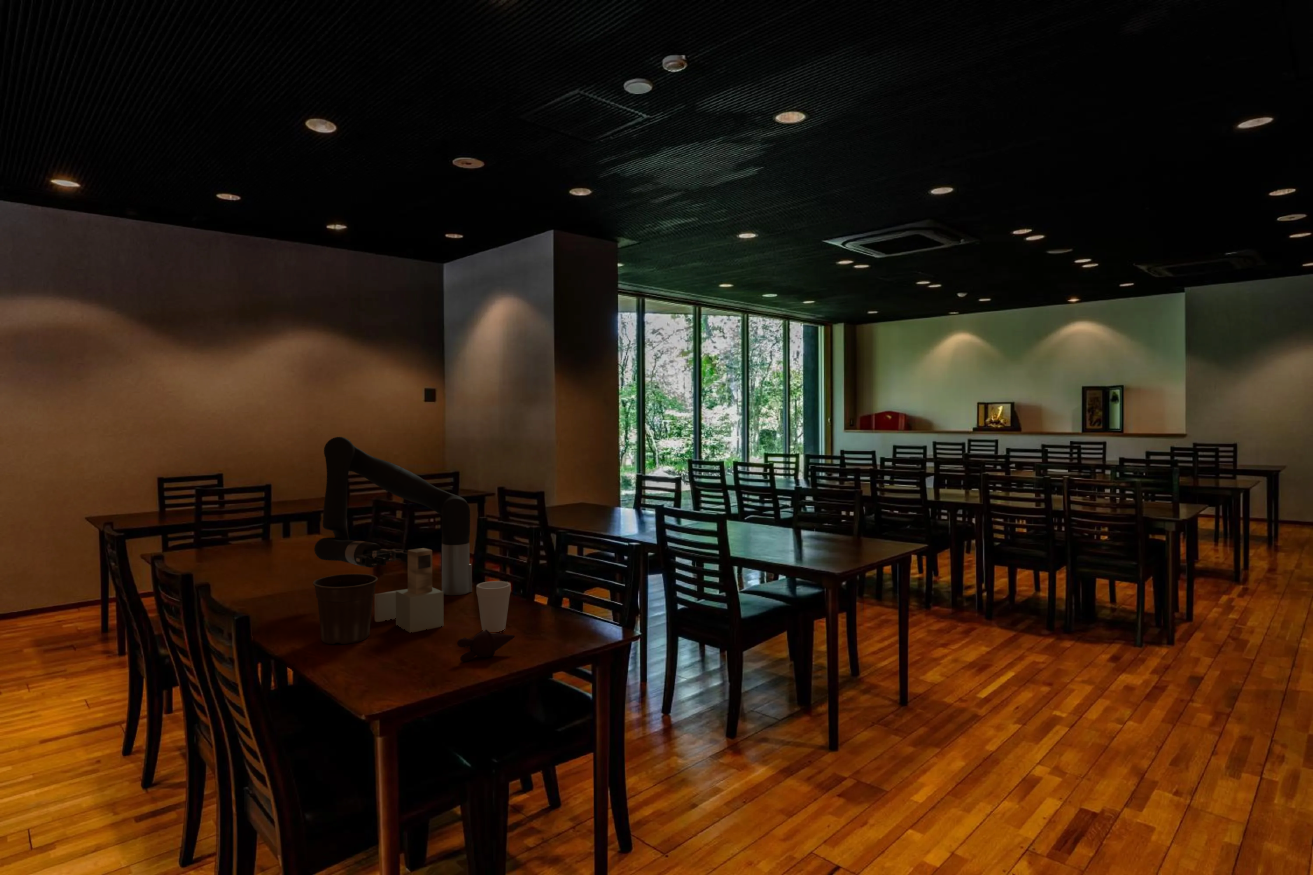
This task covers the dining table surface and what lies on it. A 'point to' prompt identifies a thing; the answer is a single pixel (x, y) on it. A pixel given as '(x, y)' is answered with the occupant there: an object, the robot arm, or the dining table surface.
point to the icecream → (483, 644)
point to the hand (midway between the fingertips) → (397, 559)
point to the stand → (419, 610)
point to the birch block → (419, 570)
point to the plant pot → (345, 607)
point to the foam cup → (493, 604)
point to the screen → (385, 606)
